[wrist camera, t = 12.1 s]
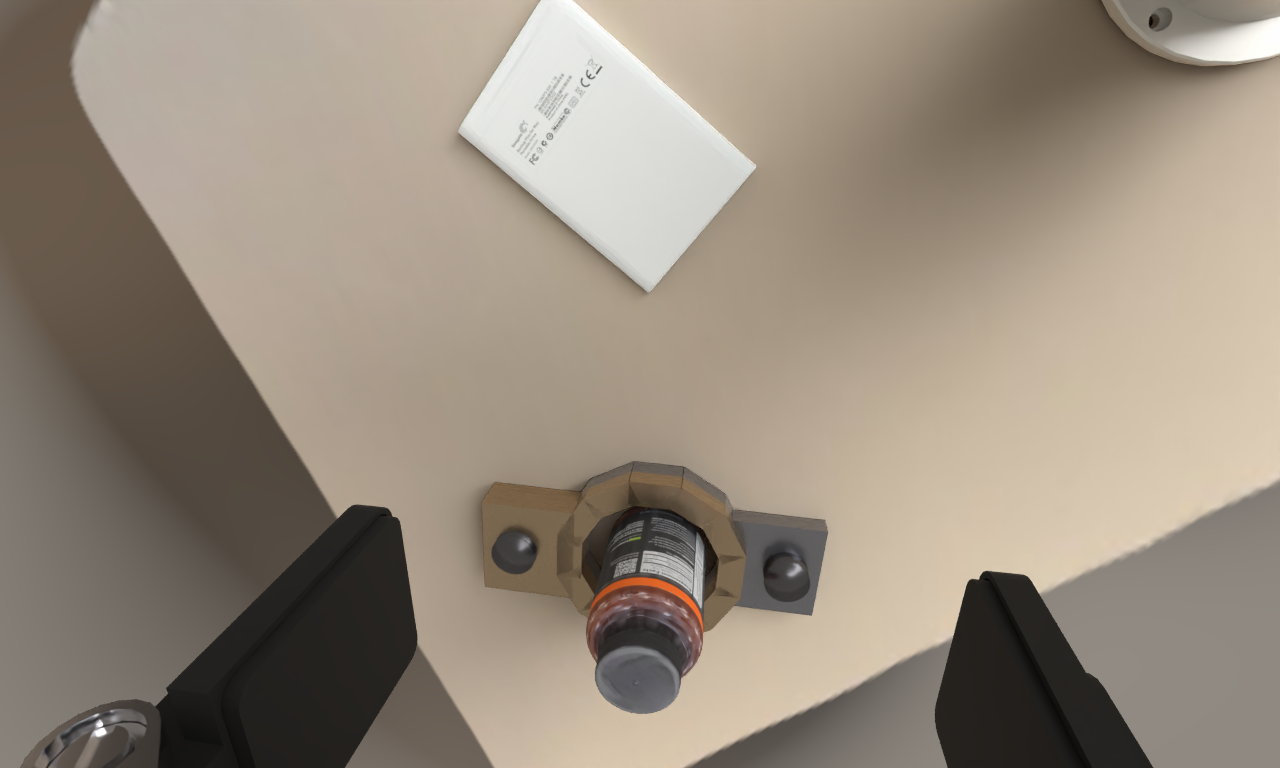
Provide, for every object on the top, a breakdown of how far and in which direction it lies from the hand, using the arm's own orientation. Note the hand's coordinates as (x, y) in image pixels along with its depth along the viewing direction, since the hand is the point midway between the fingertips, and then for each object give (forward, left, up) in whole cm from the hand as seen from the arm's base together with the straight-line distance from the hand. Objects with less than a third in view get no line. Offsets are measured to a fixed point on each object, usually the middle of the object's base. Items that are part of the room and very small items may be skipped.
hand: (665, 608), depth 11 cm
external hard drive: (+6, -6, -26) cm, 28 cm away
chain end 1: (+4, +17, -25) cm, 31 cm away
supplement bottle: (+1, +16, -26) cm, 30 cm away
